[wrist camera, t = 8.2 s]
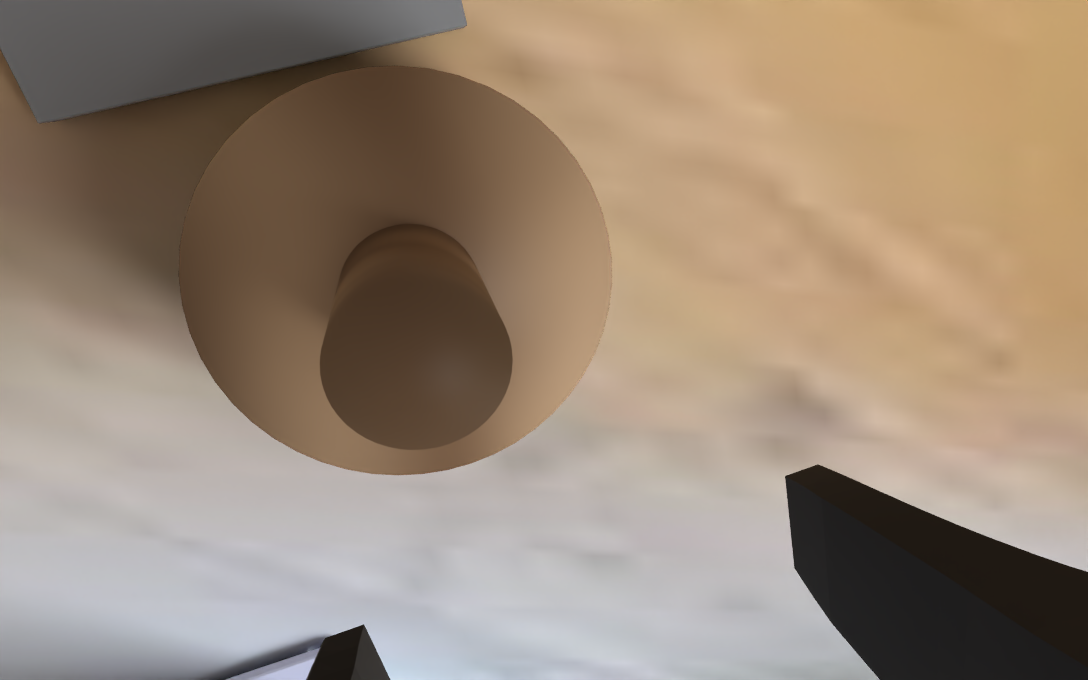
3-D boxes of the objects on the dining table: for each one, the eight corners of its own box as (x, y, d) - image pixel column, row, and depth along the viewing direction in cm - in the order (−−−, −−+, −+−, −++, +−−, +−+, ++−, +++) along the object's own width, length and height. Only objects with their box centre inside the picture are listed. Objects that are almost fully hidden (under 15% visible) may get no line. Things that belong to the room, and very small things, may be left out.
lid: (293, 495, 16) (255, 662, 12) (113, 134, 13) (-50, 163, 8) (628, 384, 17) (717, 497, 13) (547, 18, 14) (631, -18, 9)
